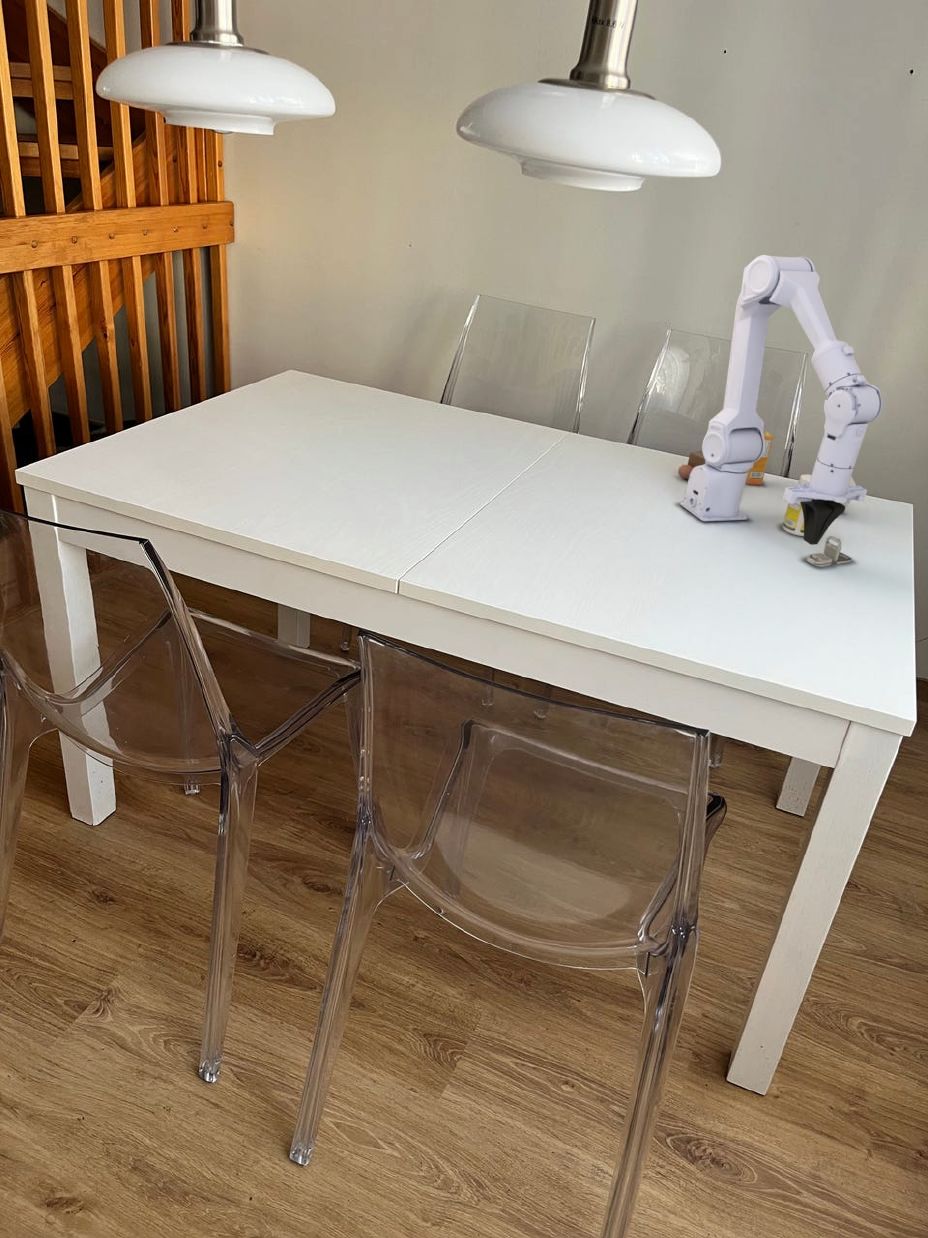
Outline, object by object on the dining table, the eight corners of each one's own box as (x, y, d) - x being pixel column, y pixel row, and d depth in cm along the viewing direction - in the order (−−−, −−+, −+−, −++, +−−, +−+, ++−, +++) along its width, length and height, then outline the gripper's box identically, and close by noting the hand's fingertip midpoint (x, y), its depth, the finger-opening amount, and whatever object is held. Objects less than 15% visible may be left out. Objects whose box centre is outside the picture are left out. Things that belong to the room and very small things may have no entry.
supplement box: (739, 478, 193) (752, 429, 188) (756, 479, 193) (769, 431, 189) (745, 484, 190) (758, 435, 185) (762, 485, 190) (775, 436, 186)
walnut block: (704, 485, 187) (710, 460, 184) (684, 476, 190) (690, 452, 188) (720, 481, 190) (726, 457, 187) (700, 473, 193) (706, 449, 191)
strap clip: (816, 568, 157) (824, 544, 155) (802, 560, 159) (810, 536, 157) (852, 562, 161) (860, 538, 159) (838, 554, 163) (846, 531, 161)
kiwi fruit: (706, 480, 189) (709, 467, 188) (686, 482, 186) (689, 469, 185) (687, 470, 193) (689, 457, 192) (667, 472, 190) (670, 460, 189)
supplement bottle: (814, 529, 172) (830, 477, 168) (810, 539, 168) (827, 486, 163) (783, 522, 174) (798, 470, 169) (779, 531, 170) (794, 478, 165)
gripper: (813, 472, 145) (788, 554, 151) (889, 471, 150) (862, 550, 156) (785, 455, 150) (762, 535, 157) (859, 455, 155) (834, 532, 162)
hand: (810, 541), depth 157 cm, fingers closed
